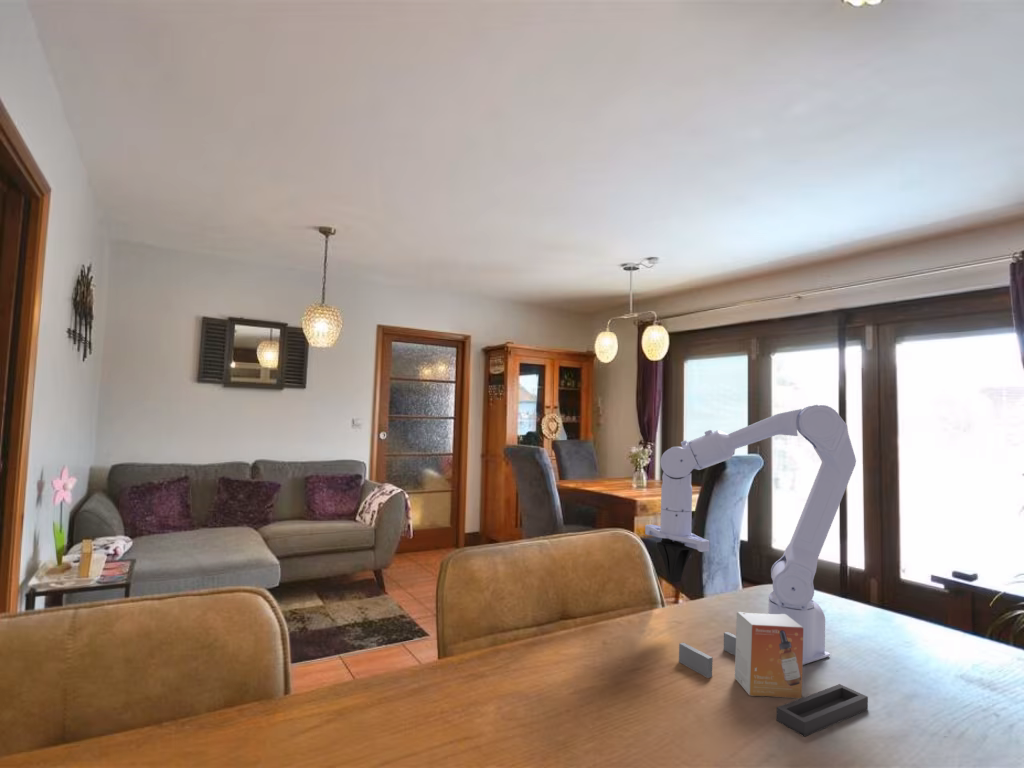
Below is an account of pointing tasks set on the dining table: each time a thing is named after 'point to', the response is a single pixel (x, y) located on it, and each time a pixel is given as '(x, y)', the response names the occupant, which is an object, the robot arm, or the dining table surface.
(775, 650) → the small box
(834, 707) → the tray
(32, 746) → the dining table surface
